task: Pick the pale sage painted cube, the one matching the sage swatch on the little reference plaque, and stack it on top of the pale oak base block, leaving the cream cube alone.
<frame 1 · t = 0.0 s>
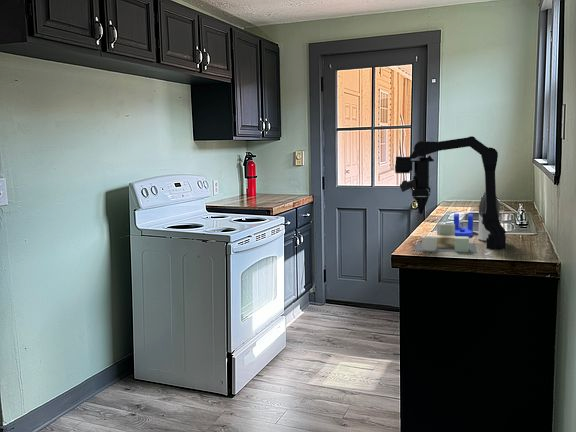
hand: (421, 212, 218), 15 cm above the counter, fingers open, 9 cm apart
sage cube: (461, 250, 209), point 1 cm above the counter, touching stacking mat
bracket: (462, 235, 251), on the counter
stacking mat: (445, 249, 216), on the counter
wine bottle: (488, 243, 229), on the counter
cream cube: (429, 249, 212), point 1 cm above the counter, touching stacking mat
oak base block: (445, 245, 219), point 1 cm above the counter, touching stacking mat
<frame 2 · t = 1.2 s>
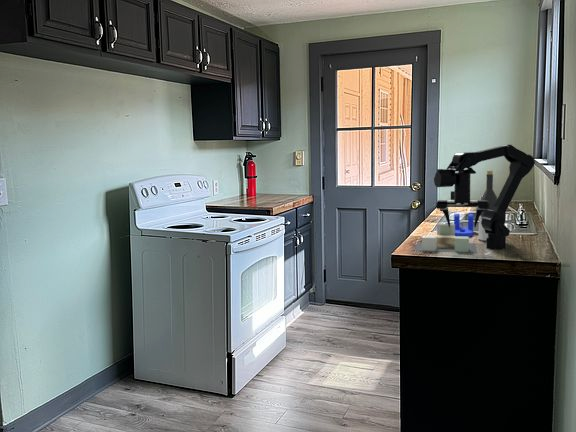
hand: (462, 227, 208), 10 cm above the counter, fingers open, 9 cm apart
nothing on the counter moved.
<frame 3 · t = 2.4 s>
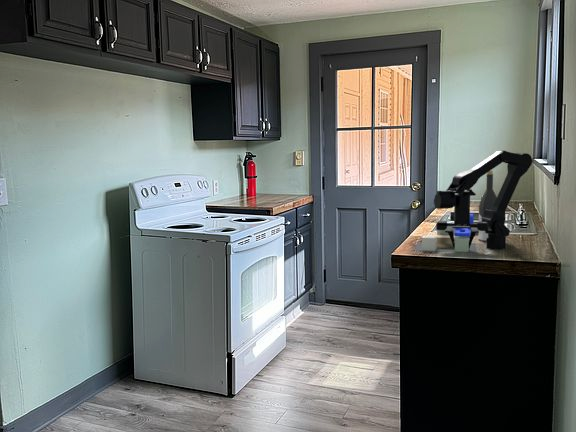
hand: (461, 248, 209), 2 cm above the counter, fingers closed on sage cube, 5 cm apart
sage cube: (461, 250, 209), point 1 cm above the counter, touching gripper, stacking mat
everything else where it was.
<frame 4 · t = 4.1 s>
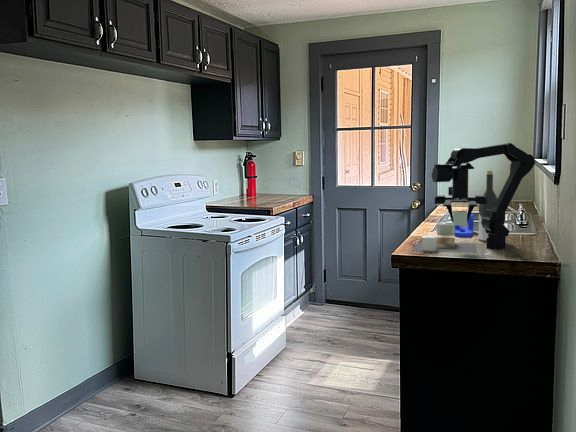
hand: (459, 222, 209), 12 cm above the counter, fingers closed on sage cube, 5 cm apart
sage cube: (459, 224, 209), point 11 cm above the counter, touching gripper
everything else where it was.
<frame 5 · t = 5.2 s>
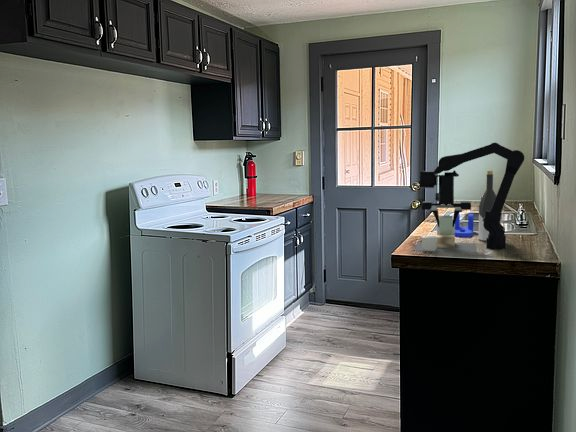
hand: (446, 227, 218), 9 cm above the counter, fingers closed on sage cube, 5 cm apart
sage cube: (445, 229, 218), point 8 cm above the counter, touching gripper
everything else where it was.
when the fingers open (7 cm above the counter, at t = 5.9 s): sage cube drops 1 cm, resting on oak base block.
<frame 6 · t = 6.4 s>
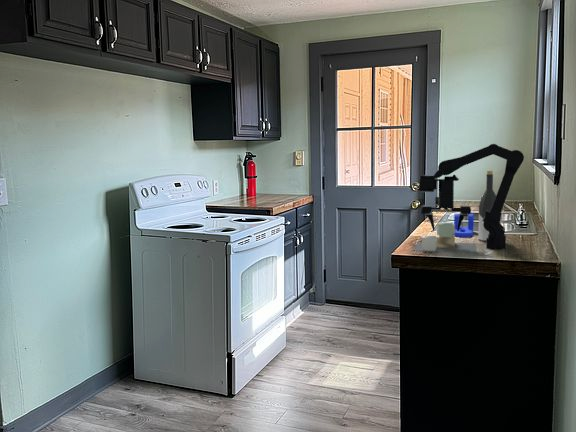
hand: (445, 231, 218), 7 cm above the counter, fingers open, 9 cm apart
sage cube: (445, 236, 218), point 5 cm above the counter, touching oak base block
oak base block: (445, 245, 219), point 1 cm above the counter, touching sage cube, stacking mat
everything else where it was.
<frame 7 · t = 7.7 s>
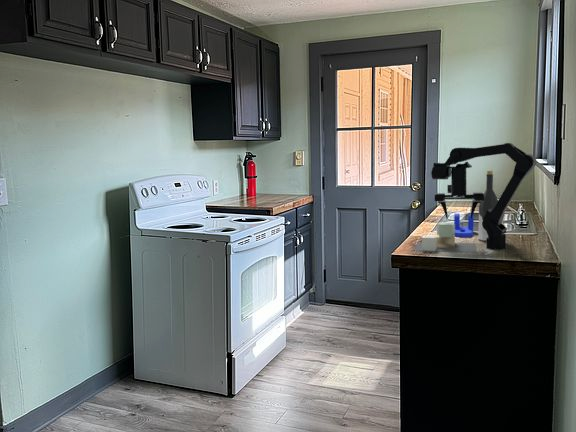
hand: (458, 218, 218), 12 cm above the counter, fingers open, 9 cm apart
nothing on the counter moved.
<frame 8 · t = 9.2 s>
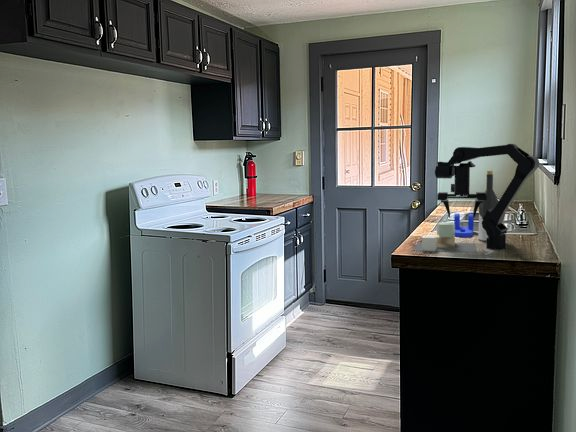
hand: (461, 217, 219), 12 cm above the counter, fingers open, 9 cm apart
nothing on the counter moved.
at the end: sage cube 0.1 cm off-centre on the oak base block, point 4.0 cm above the oak base block's base; sage cube tilted 0°; the gripper is holding nothing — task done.
